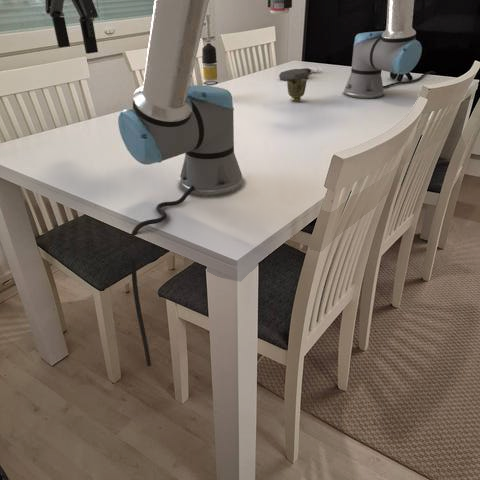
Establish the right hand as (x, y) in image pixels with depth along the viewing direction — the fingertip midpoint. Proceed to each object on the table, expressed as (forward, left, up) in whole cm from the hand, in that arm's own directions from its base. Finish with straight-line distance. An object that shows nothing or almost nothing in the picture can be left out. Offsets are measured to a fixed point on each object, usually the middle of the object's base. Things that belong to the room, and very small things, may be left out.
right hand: (279, 7), depth 129 cm
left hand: (+56, -18, -6) cm, 59 cm away
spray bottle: (-68, -35, -35) cm, 84 cm away
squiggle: (-87, +5, -35) cm, 94 cm away
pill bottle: (0, 0, -2) cm, 2 cm away
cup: (-30, -12, -35) cm, 48 cm away
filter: (-13, -42, -35) cm, 56 cm away
